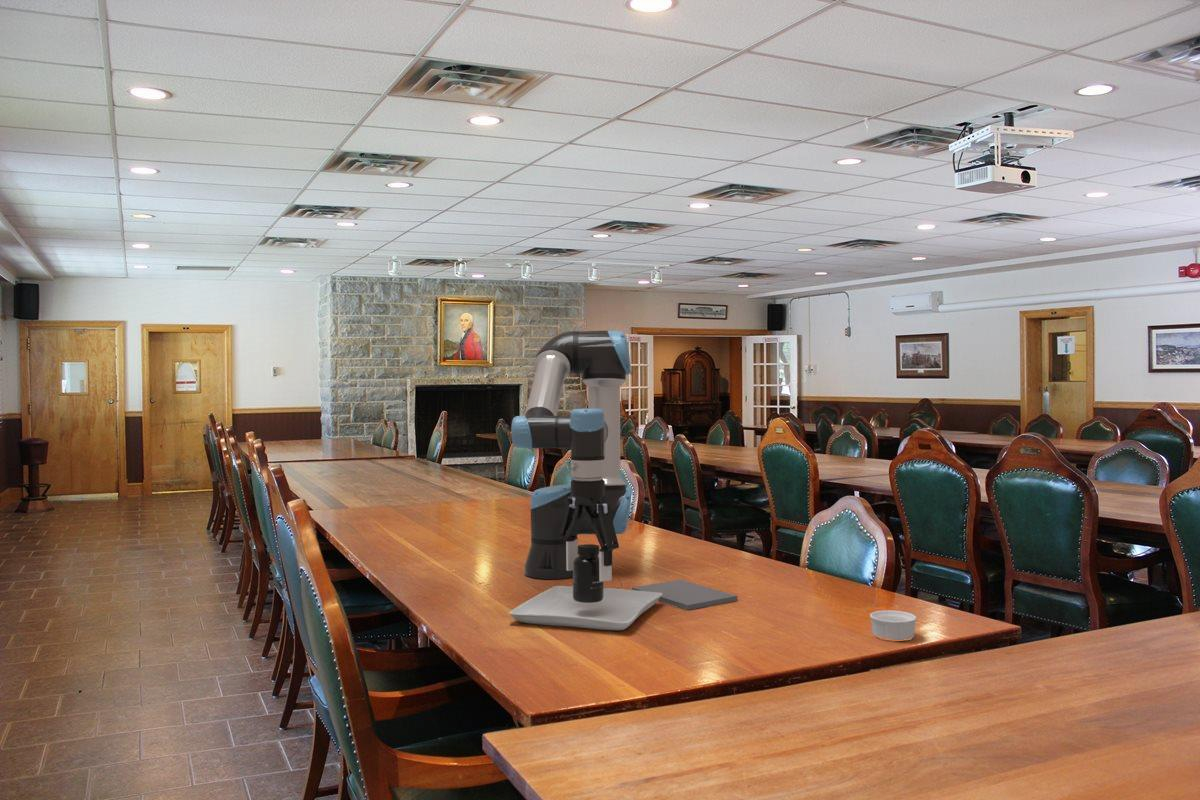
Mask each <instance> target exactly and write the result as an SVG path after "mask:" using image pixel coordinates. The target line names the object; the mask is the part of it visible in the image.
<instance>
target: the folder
mask: <svg viewBox="0 0 1200 800" xmlns="http://www.w3.org/2000/svg"><path fill="white" fill-rule="evenodd" d="M631 590H636V591H646V592H658V593H663V595H662V596H661V597H660V598H659V600H658V601H657V602H660V601H661V603H663V602H665V603H664V604H666V603H668V604H667V605H669V604H671V605H670V606H672V605H674V606H673V607H675V606H677V607H676V608H678V607H680V608H679V609H681V608H683V609H682V610H684V609H686V611H687V610H688V611H692V610H691V609H693V610H697V609H696V608H698V609H702V607H703V608H706V607H713V605H714V606H718V604H719V605H724V604H728V602H729V603H733V601H734V602H738V595H736V594H733V593H730V592H725V591H722V590H718V589H715V588H711V587H708V586H704V585H701V584H697V583H694V582H690V581H688V580H684V579H674V580H669V581H663V582H657V583H652V584H646V585H640V586H633V587H632V588H631Z"/></svg>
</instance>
